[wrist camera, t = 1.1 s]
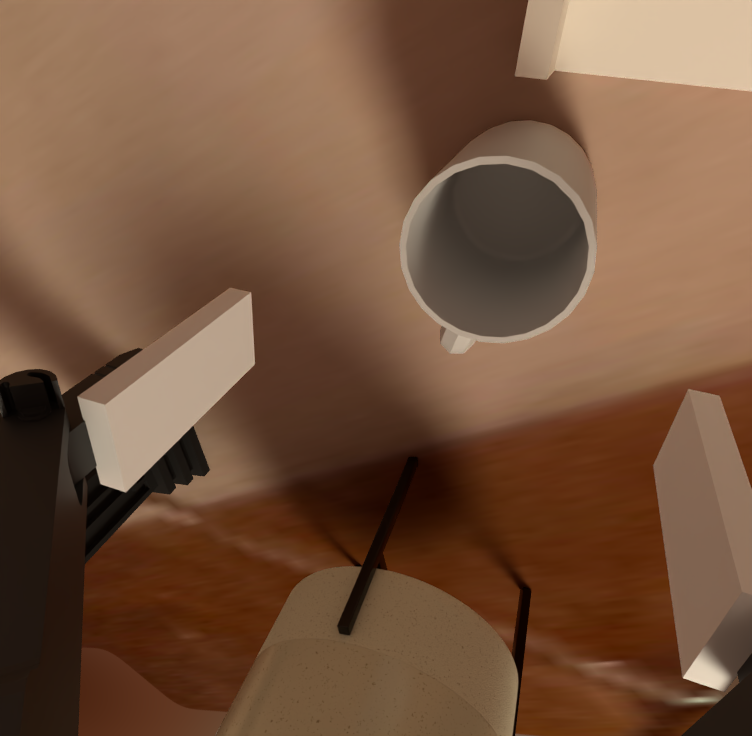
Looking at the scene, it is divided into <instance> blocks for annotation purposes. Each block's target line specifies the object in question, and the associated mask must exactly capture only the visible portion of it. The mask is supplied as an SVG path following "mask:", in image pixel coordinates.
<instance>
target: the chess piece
mask: <svg viewBox="0 0 752 736" xmlns="http://www.w3.org/2000/svg"><path fill="white" fill-rule="evenodd" d="M209 470H210V469H209V467H208V464H207V461H206V459H205V456H204V454H203V451H202V448H201V446H200V443H199V440H198V438H197V435H196V432H195V430H194V427H193V426H192V427H191V428H190V429H189V430H188V431H187V432H186V433H185V434H184V435H183V436H182V437H181V438H180V439H179V440H178V441H177V442H176V443H175V444H174V445H173V446H172V447H171V448H170V449H169V450H168V451H167V452H166V453H165V454H164V455H163V456H162V457H161V458H160V459H159V460H158V461H157V462H156V463H155V464H154V465H153V466H152V467H151V468H150V469H149V470H148V471H147V472H146V473H145V474H144V475H143V476H142V477H141V478H140V479H139V480H138V481H137V482H136V483H135V484H134V485H133V486H132V487H131V488H130V489H129V490H128V491H127V492H123V491H120V490H117V489H114V488H111V487H108V486H105V485H102V484H100V480H99V477H98V473H97V469H96V467H95V468H94V469H93V470H92V471H91V472H89V473H88V474H87V475H86V476H85V479H86V482H87V486H88V490H87V516H86V542H85V563H86V562H87V561H88V560H89V559H90V558H91V557H92V556H93V555H94V554H95V553H96V552H97V551H98V550H99V548H100V547H101V546H102V545H103V544H104V543H105V542H106V541H107V540H108V539H109V538H110V537H111V536H112V535H113V534H114V532H115V531H116V530H117V529H118V528H119V527H120V526H121V525H122V524H123V523H124V522H125V521H126V520H127V519H128V517H129V516H130V515H131V514H132V513H133V512H134V511H135V510H136V509H137V508H138V507H139V506H140V505H141V504H142V503H143V501H144V500H145V499H146V498H147V497H148V496H149V495H150V494H151V493H152V492H156V493H163V494H171V493H172V492H173V490H174V489H175V488H176V486H175V484H183V485H188V484H189V483H190V482H191V481H192V480H193V476H192V475H197V476H205V475H206V474H207V473H208V472H209ZM174 483H175V484H174Z"/></svg>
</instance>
